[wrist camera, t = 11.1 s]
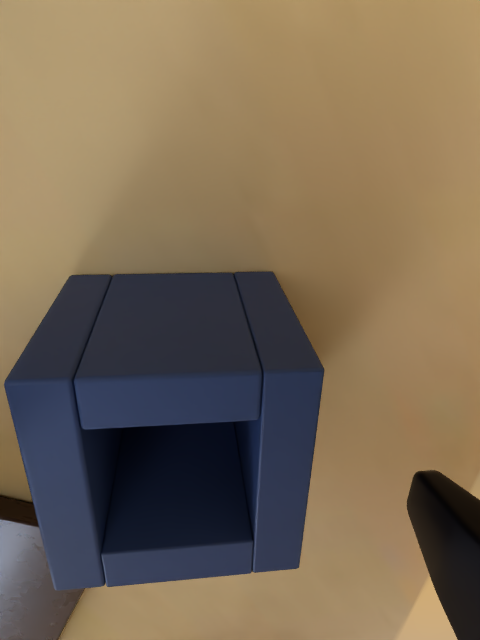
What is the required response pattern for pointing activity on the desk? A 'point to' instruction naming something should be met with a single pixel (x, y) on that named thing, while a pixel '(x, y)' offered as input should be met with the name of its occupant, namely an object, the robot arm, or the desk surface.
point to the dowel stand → (28, 579)
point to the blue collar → (167, 427)
